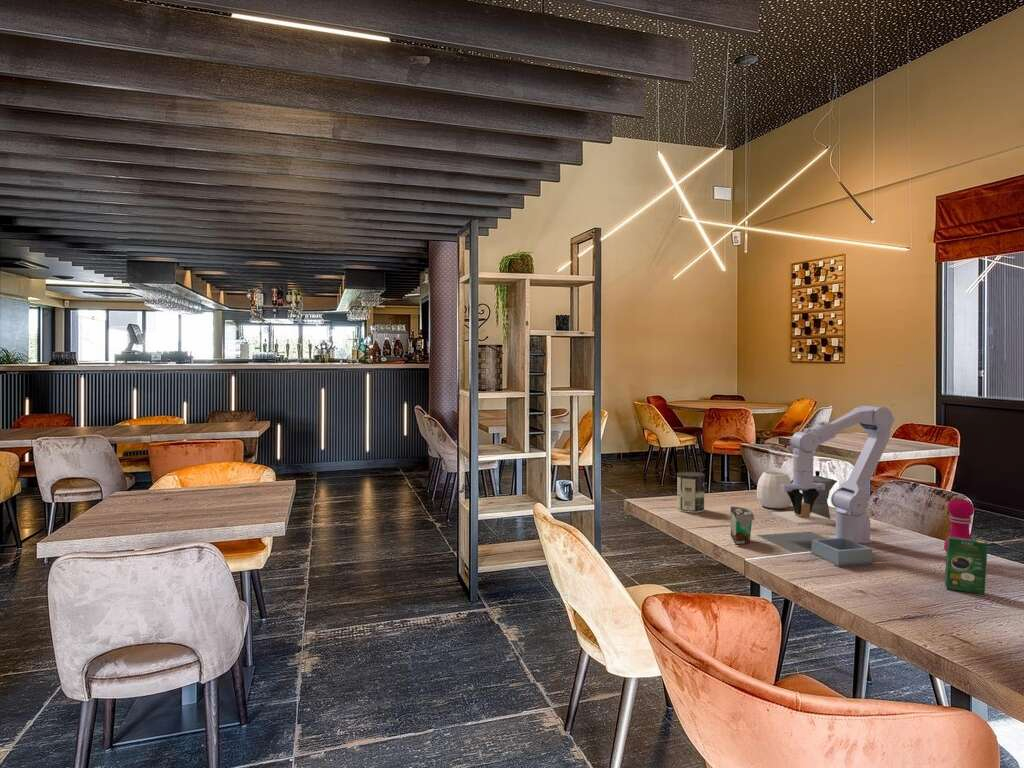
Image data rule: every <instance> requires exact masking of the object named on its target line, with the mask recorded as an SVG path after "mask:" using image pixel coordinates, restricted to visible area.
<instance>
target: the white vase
mask: <svg viewBox="0 0 1024 768" xmlns="http://www.w3.org/2000/svg"><path fill="white" fill-rule="evenodd" d="M791 481H792V479H791V477H790V476H789V474H788V473H786V472H783V471H776V470H767V471H763V472H762V474H761V475H760V477H759V479H758V481H757V487H756V498H757V500H758V502H759V504H760V505H761V506H763V507H765V508H769V509H774V508H775V510H777V509H781V510H782V509H787V508H789V507H790V506H791V505H792V502H791V499H790V497H789V495H788V494H787V492H783V491H781V485H783V484H789V483H791Z"/></svg>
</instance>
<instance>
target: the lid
mask: <svg viewBox="0 0 1024 768" xmlns="http://www.w3.org/2000/svg"><path fill="white" fill-rule="evenodd" d="M770 515H771V516H773V517H775V518H778V519H780V520H783V521H786V522H789V523H790V524H793V525H796V526H810V525H812V526H813V525H828V524H829V525H830V524H831V525H832V524H836V520H834V519H831V518H830V519H829V518H826V517H823V516H820V515H817V514H815V513H812V512H811V513H810V505H809V504H806V503H804V502H802V503H801V514H796V513H794V510H793V511H792V510H791V511H772V512H771V513H770Z"/></svg>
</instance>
